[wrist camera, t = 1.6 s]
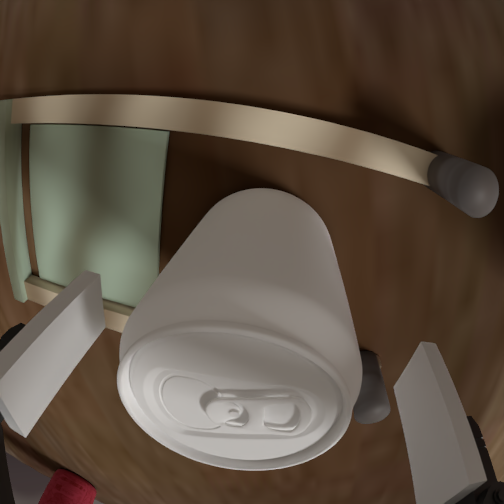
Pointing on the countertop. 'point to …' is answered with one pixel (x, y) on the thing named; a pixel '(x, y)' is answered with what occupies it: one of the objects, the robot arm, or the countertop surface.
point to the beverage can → (245, 340)
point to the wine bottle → (68, 489)
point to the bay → (152, 185)
